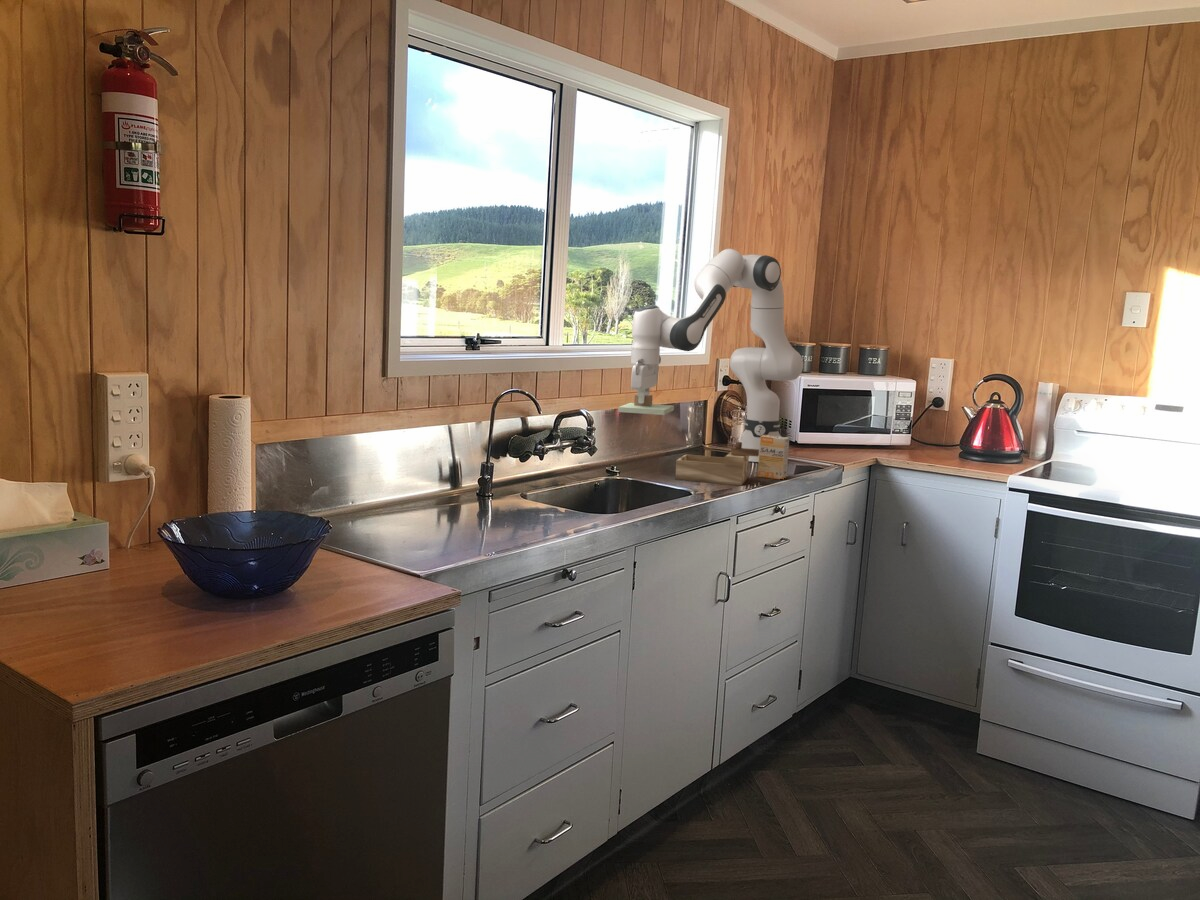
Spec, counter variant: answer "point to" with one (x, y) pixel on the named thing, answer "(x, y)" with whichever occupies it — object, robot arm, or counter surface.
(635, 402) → the lid
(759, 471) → the supplement box
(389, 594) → the counter surface
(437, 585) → the counter surface
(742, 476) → the toolbox
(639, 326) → the robot arm
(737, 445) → the brown stepped wooden block
